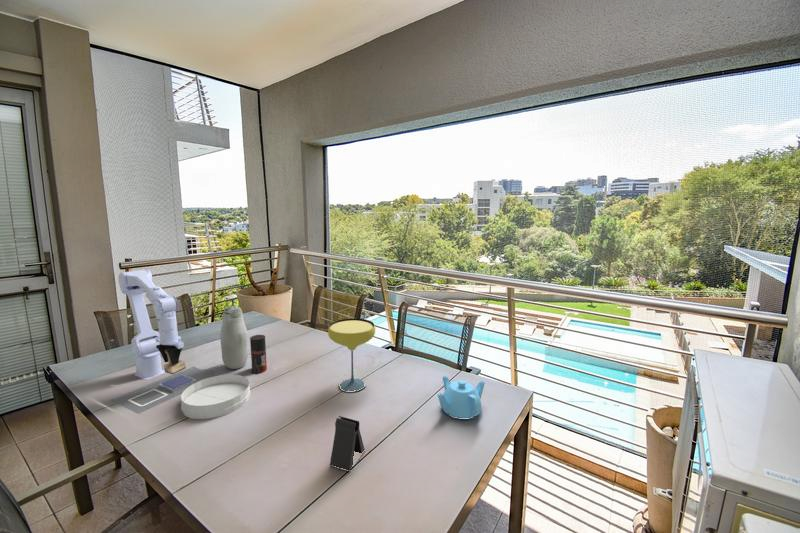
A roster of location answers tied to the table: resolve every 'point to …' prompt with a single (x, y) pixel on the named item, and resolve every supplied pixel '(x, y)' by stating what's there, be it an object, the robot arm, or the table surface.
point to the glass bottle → (234, 338)
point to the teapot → (461, 398)
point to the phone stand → (346, 442)
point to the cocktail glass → (351, 342)
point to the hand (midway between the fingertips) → (171, 362)
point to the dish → (215, 396)
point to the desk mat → (158, 391)
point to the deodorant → (258, 353)
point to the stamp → (173, 366)
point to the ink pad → (177, 383)
